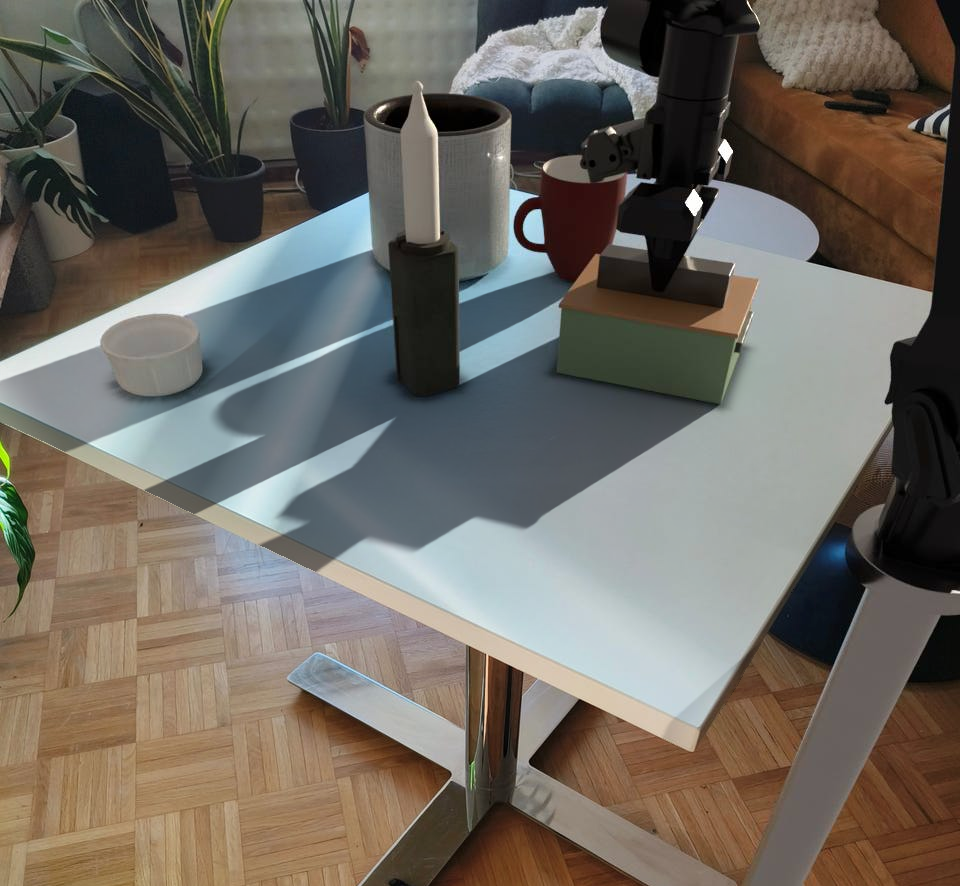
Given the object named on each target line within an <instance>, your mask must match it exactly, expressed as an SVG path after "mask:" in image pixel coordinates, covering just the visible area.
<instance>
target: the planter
mask: <svg viewBox="0 0 960 886" xmlns="http://www.w3.org/2000/svg"><path fill="white" fill-rule="evenodd" d="M422 95H423V99H424V102H425V106H426V109H427V112H428V116H429V118H430V119H431V121H432V122H433V124H434V126H435V127H436V129H437V133H438V174H439V216H440V230H443V231H444V234H449V237H450V241H451V242H452V243H454V244H455V245H456V246H457V247H458V249H459V282H464V281H469V280H473V279H476V278H479V277H483V276H485V275H487V274H490V273H491V272H492V271H493V270H495V269H497V268H498V267H499V266H501V264H502V263H503V262H504V261H505V260H506V258H507V257H508V253H509V247H510V206H511V205H510V201H511V199H510V196H511V148H512V147H511V143H512V142H511V141H512V113H511V111H510V110H509V109H508V108H507V107H505V105H503V104H501V103H500V102H497V101H495V100H492V99H489V98H485V97H480V96H476V95H471V94H470V95H469V94H462V93H452V92H451V93H450V92H428V93H427V92H426V93H422ZM412 97H413V93H412V94H405V95H400V96H395V97H391V98H387V99H383V100H381V101H379V102H376V103H374V104H372V105H371V106H369V107H368V108H367V109H366V110H365V111H364V112H363V127H364V128H363V129H364V141H365V143H364V144H365V156H366V171H367V172H366V174H367V188H368V201H369V202H368V203H369V204H368V205H369V219H370V220H369V222H370V223H369V224H370V237H371V238H370V239H371V248H372V253H373V256H374V259H375V260H376V261H377V263H378V264H379V265H380V266H381V267H383V268H384V269H386V270H387V271H389V272H390V264H389V248H388V243H389V242H390V241H391V240H393V239H396V236H397V234H398V233H400V232H401V231H404V230H405V211H404V192H403V172H402V152H401V129H402V127H403V125H404V123H405V121H406V120H407V118H408V115H409V110H410V106H411V101H412Z"/></svg>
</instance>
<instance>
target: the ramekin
mask: <svg viewBox="0 0 960 886" xmlns="http://www.w3.org/2000/svg"><path fill="white" fill-rule="evenodd" d="M200 340H201V332H200V328H199V326H198V325H197V324H196V322H195V321H193V320H191V319H190V318H187V317H185V316H181V315H178V314H173V313H148V314H141V315H137V316H133V317H129V318H126V319H124V320H121V321H119V322H117V323H115V324H113V325H112V326H110V327H109V328H108V329H106V330H105V331H104V332H103V334H102V335H101V338H100V342H99V343H100V347H101V349H102V352H103V353H104V355H106V357H107V360H108V363H109V364H110V367H111V370H112V373H113V374H114V378H115V380H116V382H117V383H118V385H119V386H120V388H121V389H123V390H124V391H127V392H128V393H131V394H133V395H137V396H140V397H141V396H142V397H164V396H168V395H173V394H177V393H180V392H182V391H185V390H187V389H188V388H190V387H192V386H193V385H195V383H196V382H198V381H199V379H200V378H201V376H202V375H203V371H204V369H203V368H204V367H203V358H202V351H201V344H200Z"/></svg>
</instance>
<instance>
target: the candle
mask: <svg viewBox="0 0 960 886" xmlns="http://www.w3.org/2000/svg"><path fill="white" fill-rule="evenodd" d="M411 90H412V94H413V97H412V101H411V106H410V110H409V115H408V118H407V120H406V121H405V123H404V125H403V127H402V129H401V152H402V172H403V192H404V211H405V230H404V231H401V232H400V233H398V234H397V236H396V239H393V240H391V241H390V242H389V243H388V248H389V264H390V271H389V274H390V275H389V276H390V277H389V278H390V294H391V307H392V323H393V324H392V325H393V340H394V355H395V357H394V358H395V370H396V371H395V372H396V379H397V381H398V382H401V383H402V384H403V385H404V386H405V387H406V388H407V389H409V391H410V394H411V395H413V396H416V397H428V396H432V395H434V394H438V393H442V392H447V391H450V390H453V389H455V388H458V386H459V385H460V382H461V370H460V369H461V367H460V366H461V365H460V362H461V361H460V358H461V357H460V356H461V355H460V351H461V350H460V281H459V249H458V247H457V246H456V245H455V244H454V243H452V242H451V241H450V237H449V234H444V231H443V230H440V216H439V174H438V133H437V129H436V127H435V126H434V124H433V122H432V121H431V119H430V118H429V116H428V112H427V109H426V106H425V102H424V99H423V95H422V94H423V90H424V85H423V83H421V82H420V81H419V80H416V81H414V82H413V83H412V85H411Z"/></svg>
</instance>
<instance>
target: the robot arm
mask: <svg viewBox="0 0 960 886" xmlns="http://www.w3.org/2000/svg"><path fill="white" fill-rule="evenodd" d="M934 1H935V4H936V6H937V8H938V11H939V14H940V15H941V19H942V20H943V23H944V26H945V28H946V30H947V33H948V35H949V37H950V40H951V42H952V45H953V52H954V61H953V72H952V80H951V81H952V82H951V90H950V91H951V92H950V93H951V94H950V101H949V102H950V103H949V114H948V123H947V133H946V144H945V154H944V165H943V175H942V176H943V177H942V185H941V186H942V188H941V198H940V208H939V220H938V229H937V241H936V249H935V260H934V270H933V271H934V272H933V282H932V292H931V302H930V303H931V304H930V309H929V313H928V315H927V318H926V319H925V321H924V323H923V325H922V326H921V328H920V330H919V331H918V333H917V335H915V336H911V337H907V338H904V339H900V340H896V341H895V342H894V343H893V345H892V347H891V350H890V351H891V352H890V355H889V365H890V366H889V367H890V381H889V388H888V392H887V394H886V395H885V399H884V404H885V405H886V406H888V405H891V423H892V427H893V439H892V452H891V453H892V454H891V455H892V457H891V471H890V472H891V474H892V476H894V477H895V478H894V480H893V483H892V485H891V488H890V490H889V493H888V495H887V498H886V500H885V503H884V504H885V505H884V507H883V510H882V512H881V515H880V518H879V526H878V535H877V536H878V538H879V539H881V540H882V544H881V554H880V558H881V560H882V561H884V562H886V563H890V564H895V565H899V566H903V567H908V568H912V569H917V570H921V571H926V572H930V573H934V574H939V575H943V576H948V577H952V578H956V579H960V0H934ZM760 29H761V23H760V21H759V19H758V16H757V14H756V13H755V11H754V10H753V9H752V8H751V6H750V4H749V1H748V0H610V1H609V2H608V5H607V7H606V8H605V11H604V15H603V17H602V18H601V20H600V26H599V33H600V34H599V35H600V36H599V37H600V42H601V45H602V49H603V50H604V53H605V54H606V55H607V57H608V58H610V60H612V61H614V62H616V63H619V64H621V65H624V66H625V67H628V68H631V69H633V70H635V71H638V72H640V73H642V74H644V75H647V76H649V77H654V78H658V80H657V81H658V82H657V89H656V97H655V102H654V104H653V105H652V106H651V107H650V108H649V109H647V111H646V112H645V114H644V115H645V116H644V117H642V118H636V119H633V120H629V121H626V122H621V123H618V124H615V125H612V126H611V125H608V126H607V127H604V128H601V129H595V130H593V131H592V132H591V133H590V134H588V137H587V138H586V139H585V140H584V141H583V142H582V143H581V148H580V150H581V155H582V159H581V161H580V166H581V168H582V169H587V171H588V176H589V180H590V183H597V182H601V181H603V180H604V178H607V177H611V176H615V175H618V174H622V173H626V172H627V173H630V172H633V171H635V170H636V176H635V177H636V179H638V180H639V179H640V180H646V181H650V180H652V179H654V180H655V181H654V182H653V183H651V182H644V181H640V182H639V183H638V184H637V185H635V187H633V188H632V189H631V190H629V192H627V194H626V195H625V198H624V200H623V201H622V202H621V203H620V205H619V208H618V217H617V226H616V229H617V230H616V231H617V232H620V233H621V234H628V235H636V236H641V237H644V239H645V243H646V244H645V245H646V250H647V251H648V259H649V268H650V276H651V285H652V290H653V291H657V292H664V290H665V289H666V287H667V285H668V283H669V281H670V280H671V278H672V276H673V274H674V272H675V271H676V269H677V267H678V265H679V263H680V262H681V260H682V258H683V256H686V255H685V254H686V253H687V252H688V249H689V247H690V246H691V243H692V242H693V240H694V239H695V236H696V235H697V233H698V232H699V230H700V228H701V226H702V224H703V222H704V221H705V219H706V217H707V215H708V213H709V211H710V210H711V208H712V206H713V204H714V202H715V201H716V199H717V197H718V195H719V193H720V188H717V187H714V186H709V185H710V183H711V181H712V180H713V178H714V176H715V175H716V173H717V181H720V182H725V180H726V179H727V176H728V174H729V172H730V167H731V162H732V158H733V152H734V151H733V149H732V148H731V147H730V145H729V143H728V142H727V140H726V138H721V136H722V132H723V128H724V127H723V126H724V122H725V121H726V119H727V118H728V116H729V113H730V107H731V101H728V98H729V92H730V88H731V81H732V76H733V70H734V65H735V59H736V54H737V49H738V42H739V37H740V36H745V35H753V34H757V33H759V32H760Z"/></svg>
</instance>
